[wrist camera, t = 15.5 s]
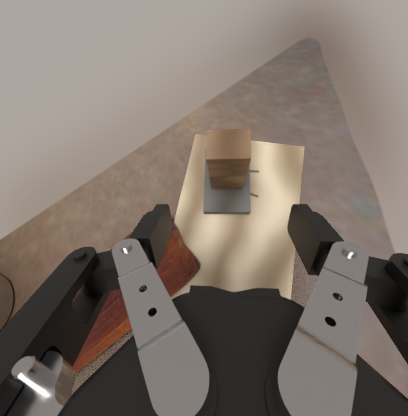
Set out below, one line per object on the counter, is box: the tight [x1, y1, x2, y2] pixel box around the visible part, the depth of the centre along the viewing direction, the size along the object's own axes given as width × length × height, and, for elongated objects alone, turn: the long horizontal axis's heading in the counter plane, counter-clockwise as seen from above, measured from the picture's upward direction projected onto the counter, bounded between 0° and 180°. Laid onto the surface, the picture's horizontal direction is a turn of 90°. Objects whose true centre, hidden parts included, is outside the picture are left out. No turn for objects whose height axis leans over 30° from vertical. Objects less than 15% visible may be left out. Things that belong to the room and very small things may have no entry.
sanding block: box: [203, 129, 251, 215], centre depth 21 cm, size 6×9×10 cm, turn 178°
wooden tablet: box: [73, 219, 201, 374], centre depth 24 cm, size 27×10×2 cm, turn 128°
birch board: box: [170, 134, 304, 300], centre depth 25 cm, size 16×24×2 cm, turn 169°
